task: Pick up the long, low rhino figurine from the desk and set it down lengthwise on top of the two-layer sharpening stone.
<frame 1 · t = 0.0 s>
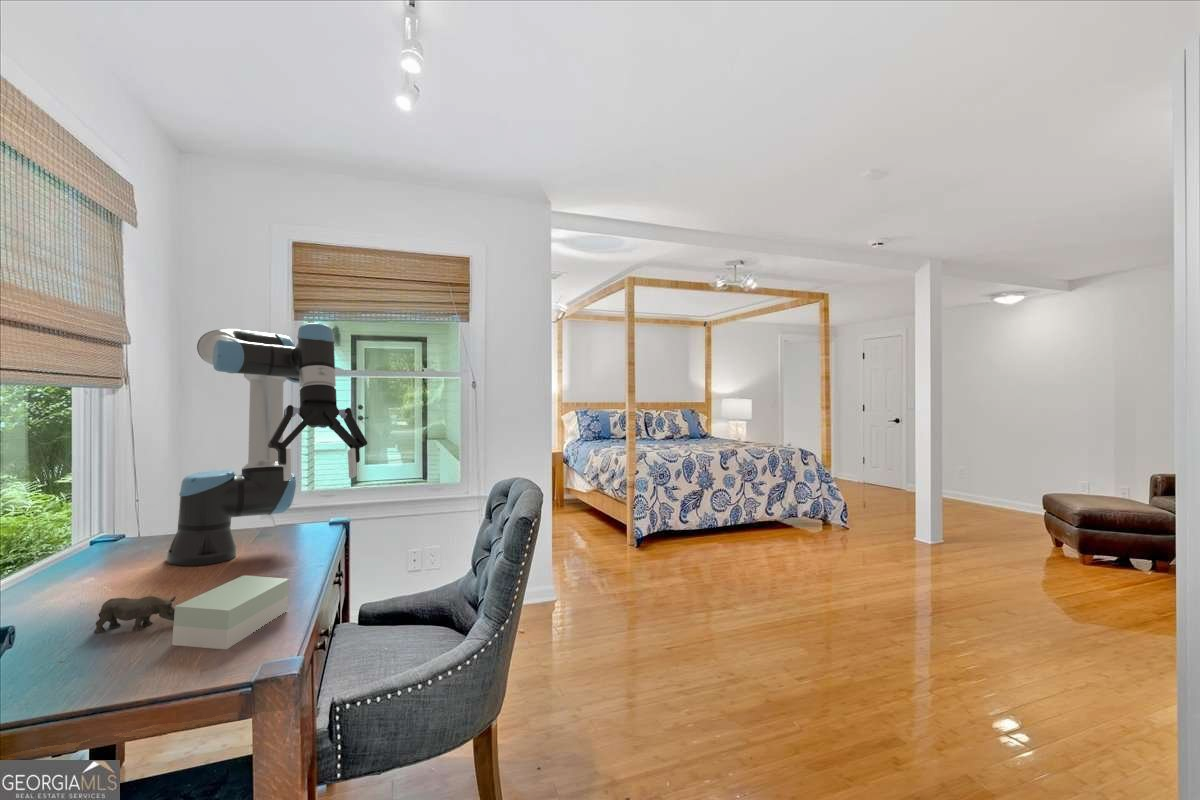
hand: (321, 478, 121), 28 cm above the table, tool tilted 20°, fingers open, 13 cm apart
two-layer sharpening stone: (234, 627, 106), on the table
rhino figurine: (141, 628, 104), on the table
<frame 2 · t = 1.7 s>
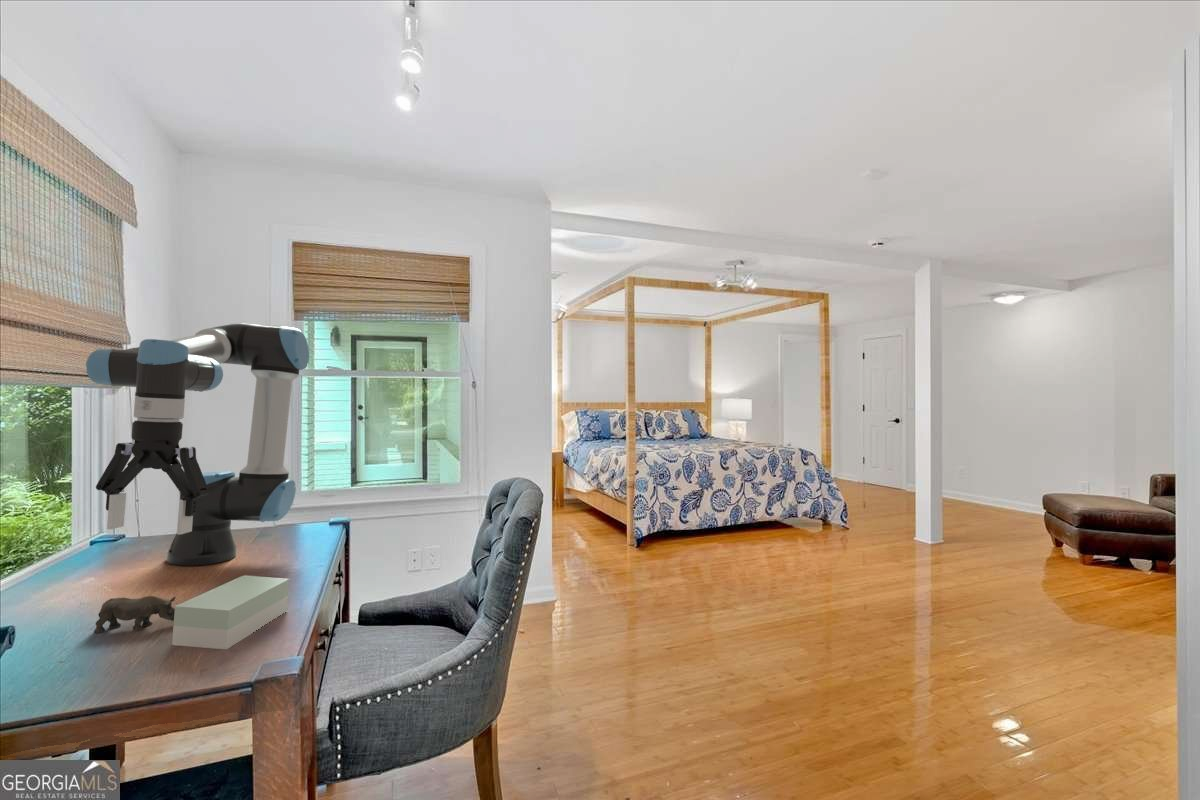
hand: (149, 530, 104), 18 cm above the table, tool pointing down, fingers open, 13 cm apart
nothing on the table moved.
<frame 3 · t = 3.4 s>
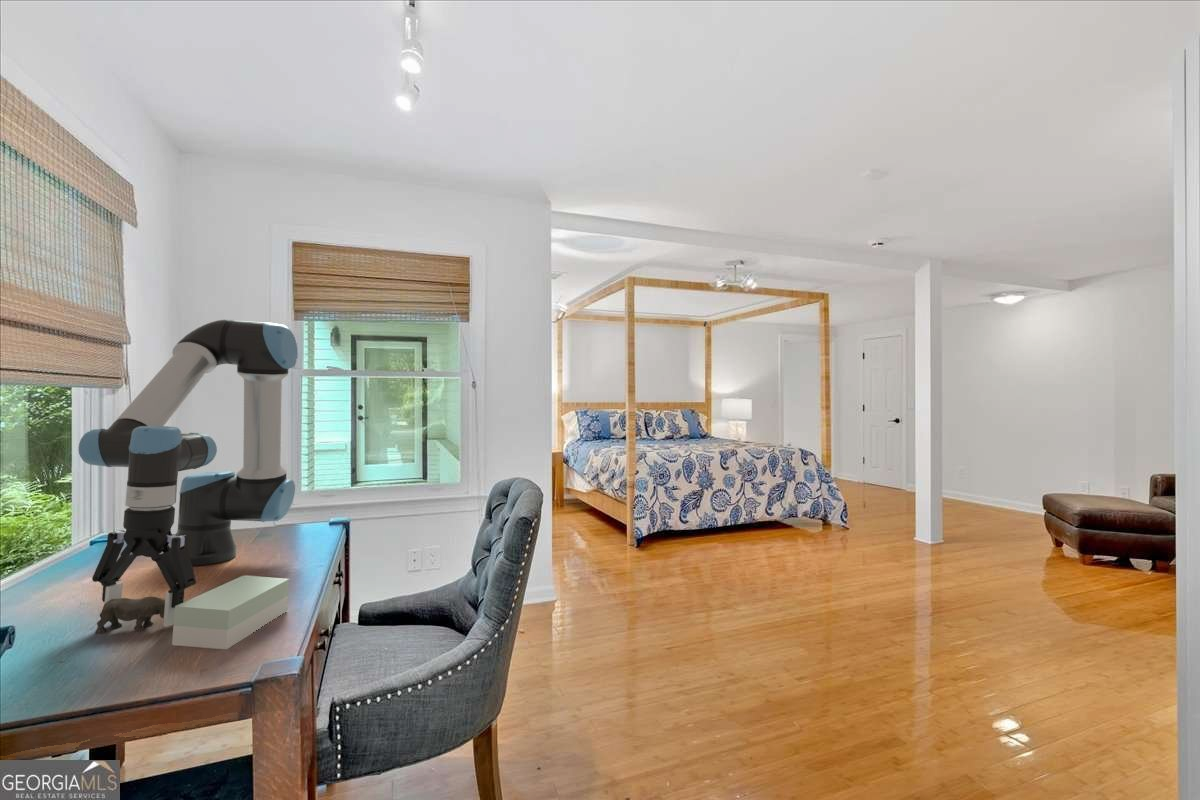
hand: (141, 621, 104), 1 cm above the table, tool pointing down, fingers closed on rhino figurine, 11 cm apart
rhino figurine: (142, 629, 104), on the table, touching gripper
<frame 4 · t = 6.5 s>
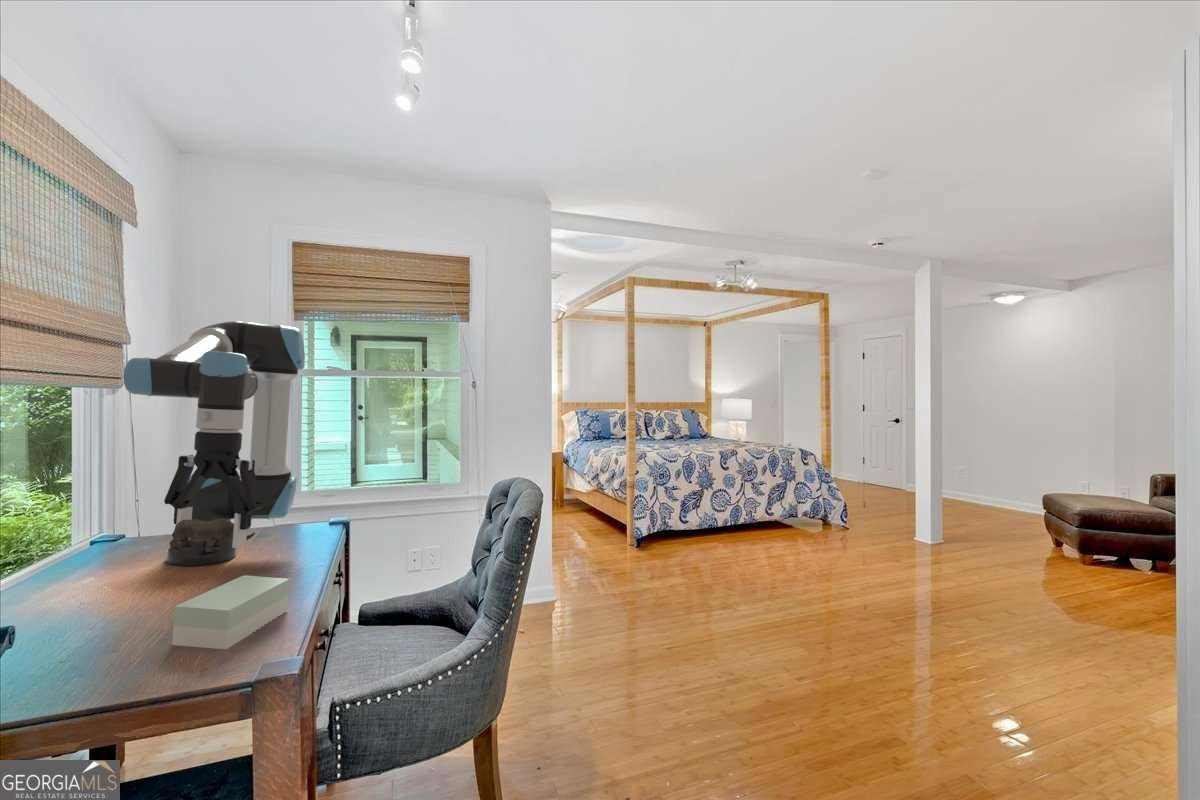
hand: (210, 543, 105), 16 cm above the table, tool pointing down, fingers closed on rhino figurine, 11 cm apart
rhino figurine: (212, 550, 105), point 15 cm above the table, touching gripper
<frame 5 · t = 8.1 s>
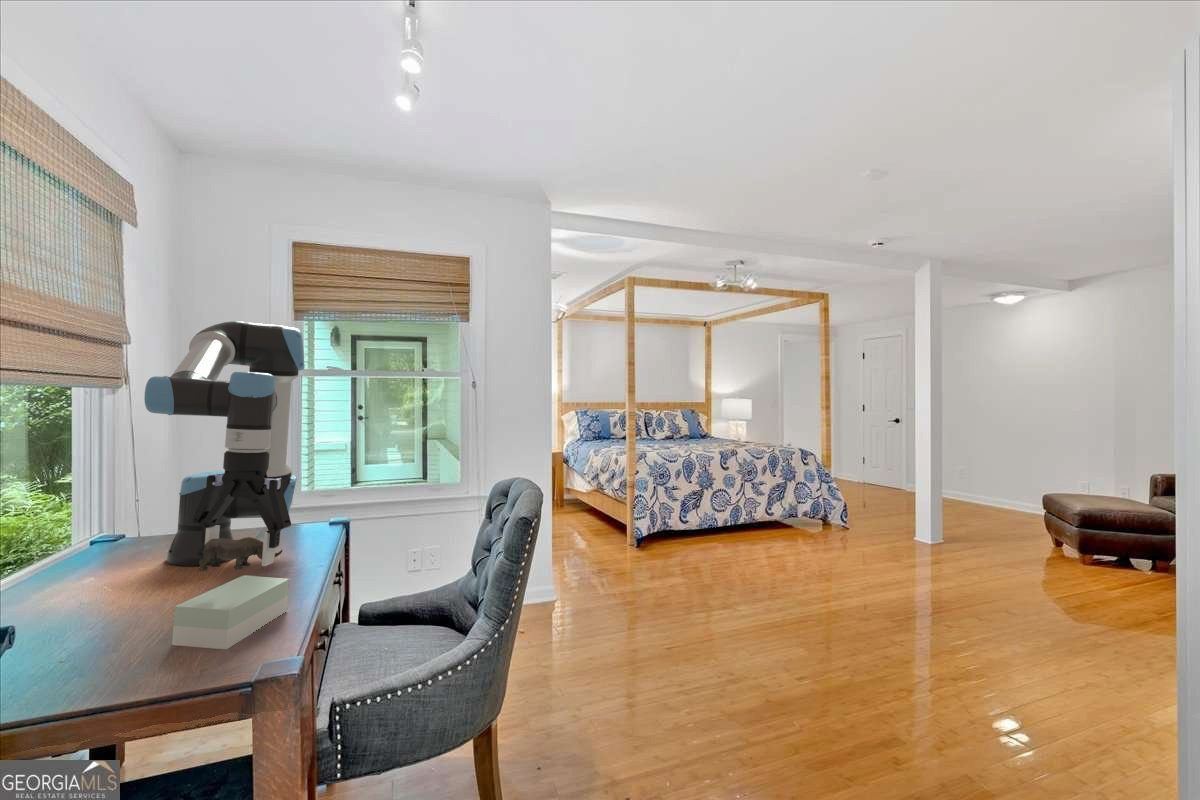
hand: (239, 562, 106), 13 cm above the table, tool pointing down, fingers closed on rhino figurine, 11 cm apart
rhino figurine: (241, 568, 106), point 11 cm above the table, touching gripper
when the fingers open (9 cm above the table, at t = 9.5 s): rhino figurine stays where it is, resting on two-layer sharpening stone.
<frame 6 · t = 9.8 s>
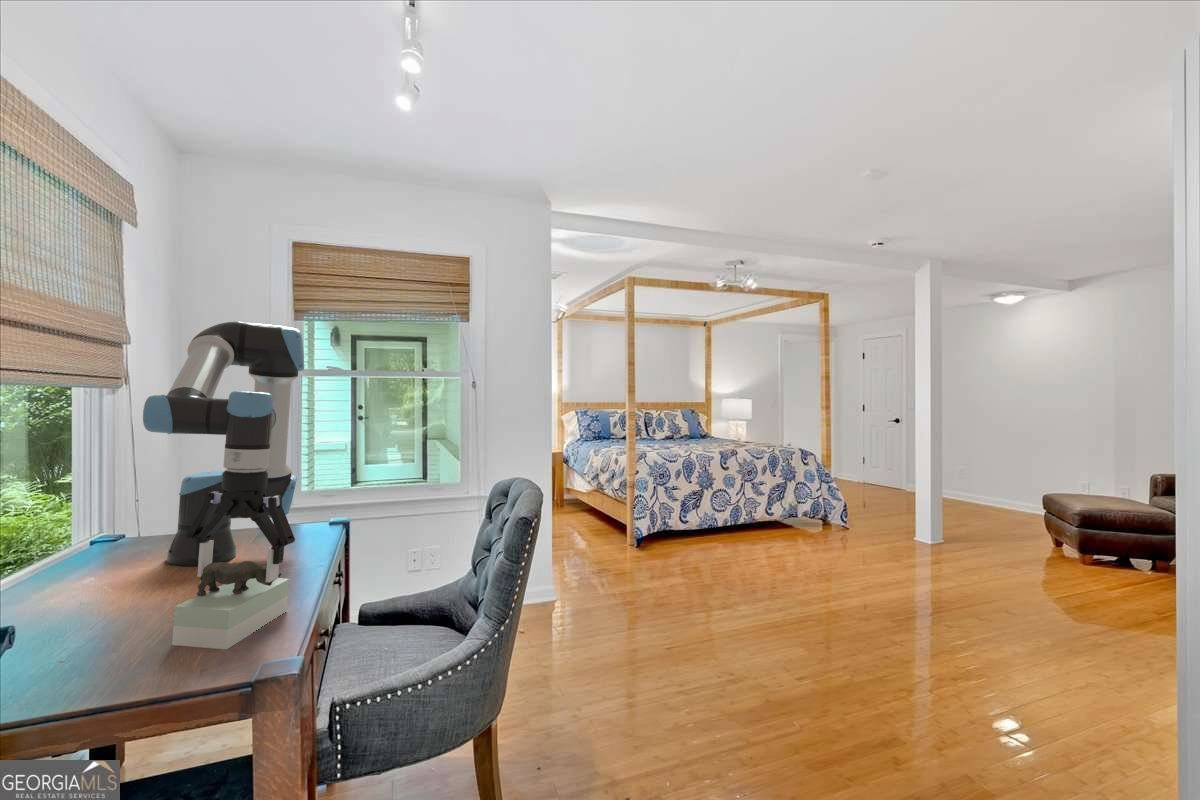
hand: (238, 577, 106), 10 cm above the table, tool pointing down, fingers open, 13 cm apart
rhino figurine: (239, 592, 106), point 7 cm above the table, touching two-layer sharpening stone
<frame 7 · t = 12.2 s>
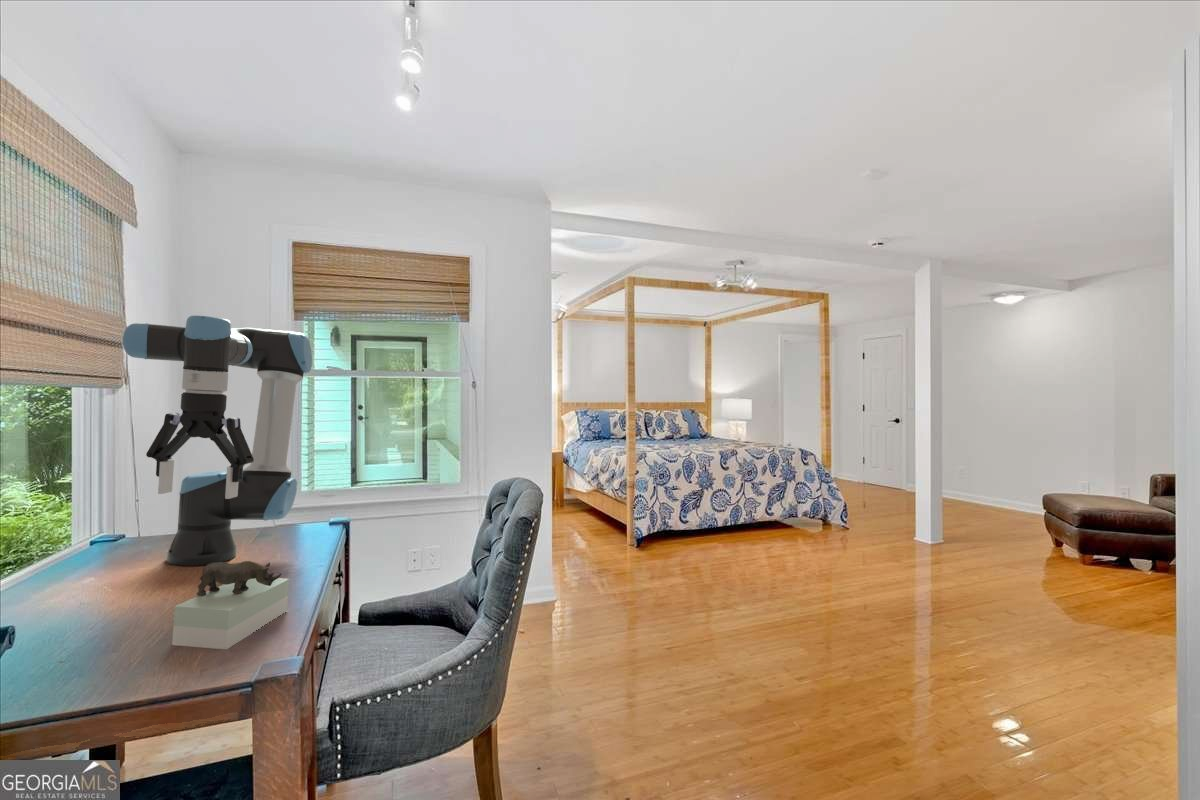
hand: (198, 495, 111), 24 cm above the table, tool pointing down, fingers open, 13 cm apart
nothing on the table moved.
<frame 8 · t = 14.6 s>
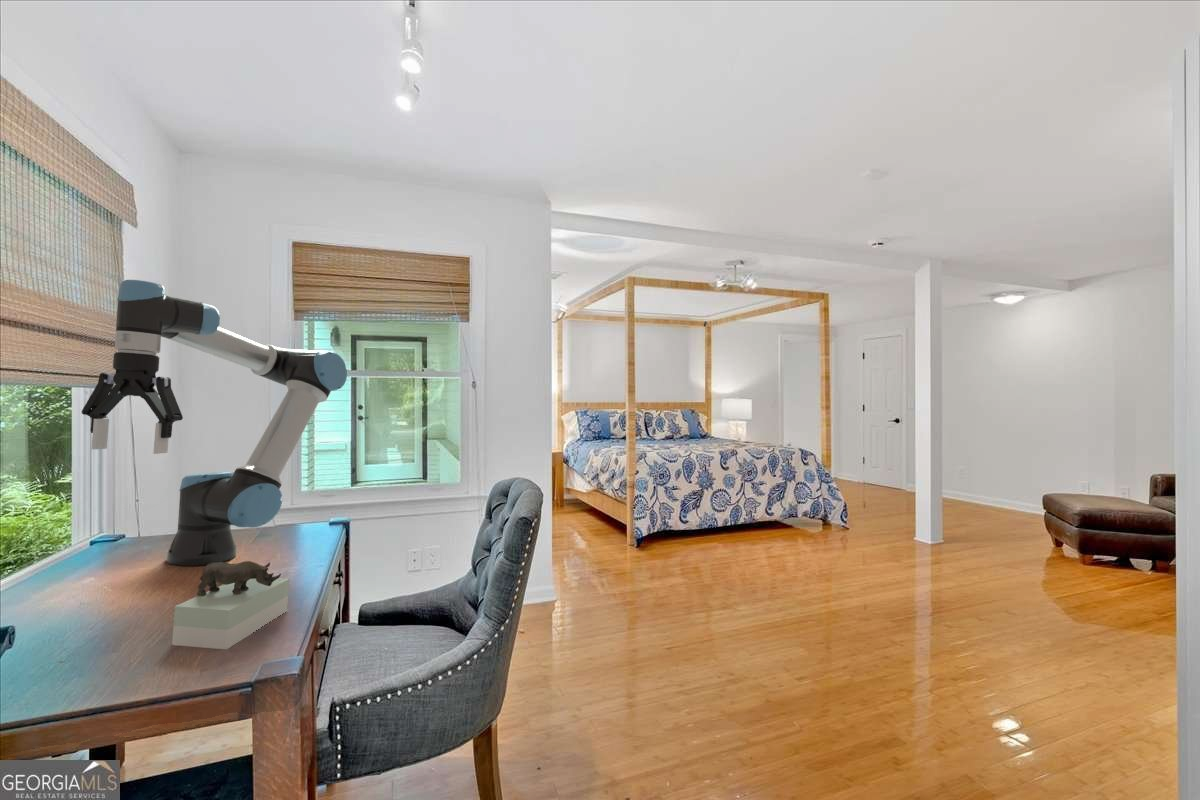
hand: (129, 451, 117), 32 cm above the table, tool pointing down, fingers open, 13 cm apart
nothing on the table moved.
at the end: rhino figurine inside the target area on the two-layer sharpening stone (0.6 cm from its centre), point 6.8 cm above the two-layer sharpening stone's base; rhino figurine tilted 0°; the gripper is holding nothing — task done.
